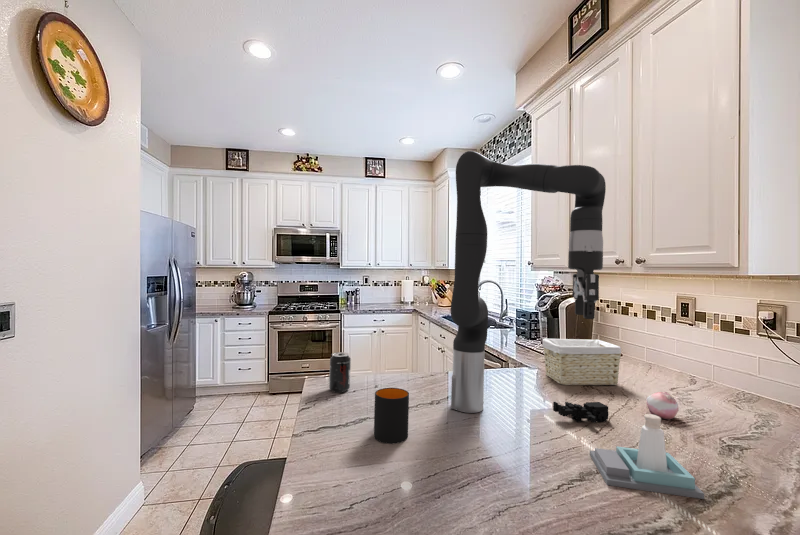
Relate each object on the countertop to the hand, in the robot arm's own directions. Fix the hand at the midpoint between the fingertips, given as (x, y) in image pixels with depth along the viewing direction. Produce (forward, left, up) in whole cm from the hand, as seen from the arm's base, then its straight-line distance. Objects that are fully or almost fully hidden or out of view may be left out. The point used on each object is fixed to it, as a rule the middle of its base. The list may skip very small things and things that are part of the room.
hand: (584, 316), depth 89 cm
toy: (+3, +14, -30) cm, 34 cm away
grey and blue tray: (+8, -13, -30) cm, 34 cm away
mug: (-46, -9, -30) cm, 56 cm away
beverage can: (-70, +17, -30) cm, 78 cm away
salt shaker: (+10, -13, -29) cm, 34 cm away
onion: (+27, +24, -30) cm, 47 cm away
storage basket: (+12, +57, -30) cm, 65 cm away
